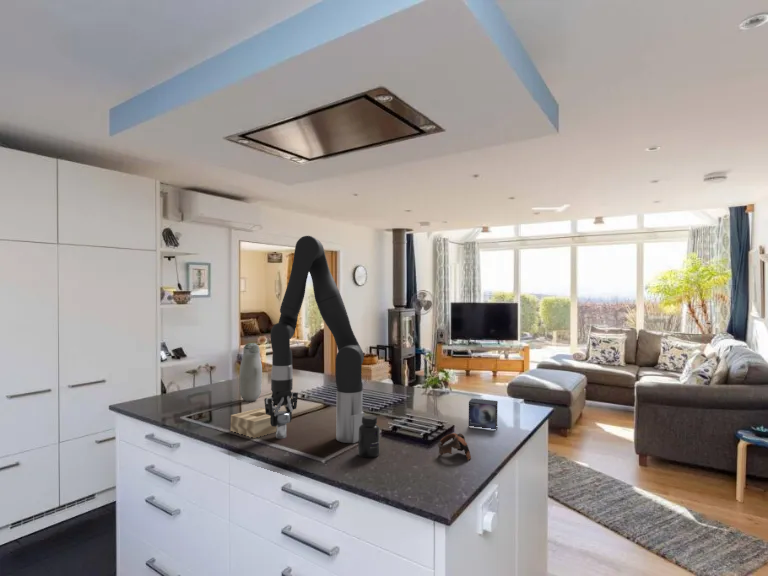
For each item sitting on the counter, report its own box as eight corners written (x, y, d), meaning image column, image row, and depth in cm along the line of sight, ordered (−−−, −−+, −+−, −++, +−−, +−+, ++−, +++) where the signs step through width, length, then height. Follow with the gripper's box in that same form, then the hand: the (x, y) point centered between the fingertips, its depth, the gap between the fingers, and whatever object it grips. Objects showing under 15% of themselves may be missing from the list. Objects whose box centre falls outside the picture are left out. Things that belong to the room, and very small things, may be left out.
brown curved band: (470, 466, 131) (456, 443, 131) (444, 474, 135) (430, 451, 135) (477, 444, 142) (465, 422, 142) (453, 452, 146) (441, 431, 146)
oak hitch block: (284, 429, 165) (284, 413, 165) (254, 438, 153) (254, 421, 153) (260, 422, 173) (261, 407, 173) (230, 431, 161) (230, 415, 162)
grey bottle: (235, 401, 208) (236, 343, 209) (252, 397, 217) (253, 341, 217) (248, 404, 203) (249, 344, 203) (265, 400, 211) (266, 342, 212)
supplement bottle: (376, 459, 135) (377, 420, 135) (355, 457, 136) (356, 419, 136) (381, 451, 141) (381, 414, 142) (361, 450, 143) (361, 413, 143)
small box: (467, 428, 168) (467, 401, 168) (471, 424, 174) (471, 397, 174) (495, 431, 164) (495, 404, 164) (497, 427, 170) (497, 400, 170)
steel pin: (293, 436, 156) (293, 412, 156) (280, 440, 151) (280, 416, 152) (281, 433, 160) (282, 410, 160) (269, 437, 155) (269, 413, 155)
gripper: (273, 381, 148) (272, 430, 148) (303, 375, 160) (303, 421, 159) (259, 379, 152) (258, 427, 152) (289, 373, 164) (289, 418, 164)
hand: (281, 423), depth 156 cm, fingers closed on steel pin, 6 cm apart
